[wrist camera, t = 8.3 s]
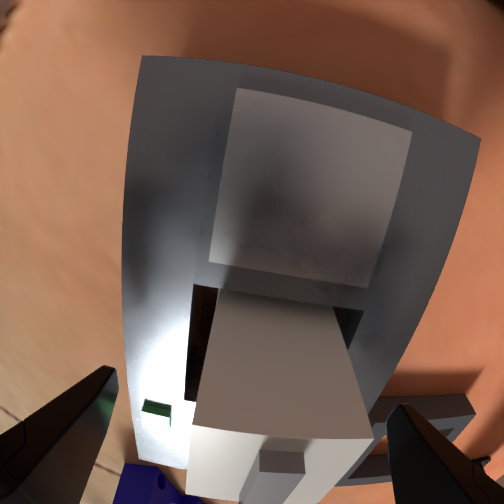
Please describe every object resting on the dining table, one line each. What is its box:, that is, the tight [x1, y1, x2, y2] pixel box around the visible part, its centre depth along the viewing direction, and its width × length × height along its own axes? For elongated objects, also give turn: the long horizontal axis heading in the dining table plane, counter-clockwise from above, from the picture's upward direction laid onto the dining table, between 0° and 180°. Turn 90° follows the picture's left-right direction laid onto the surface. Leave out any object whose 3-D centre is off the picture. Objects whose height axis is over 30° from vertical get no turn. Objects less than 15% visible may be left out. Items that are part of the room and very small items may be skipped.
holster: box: [335, 394, 476, 486], centre depth 17 cm, size 8×8×2 cm
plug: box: [185, 288, 374, 504], centre depth 10 cm, size 4×4×9 cm
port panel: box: [122, 56, 481, 470], centre depth 12 cm, size 10×18×4 cm, turn 170°
